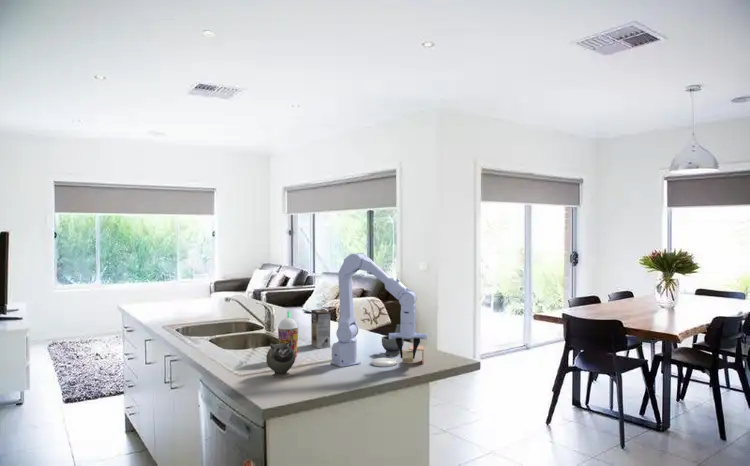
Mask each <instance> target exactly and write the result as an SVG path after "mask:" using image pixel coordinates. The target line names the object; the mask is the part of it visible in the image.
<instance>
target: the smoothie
mask: <svg viewBox="0 0 750 466" xmlns="http://www.w3.org/2000/svg"><path fill="white" fill-rule="evenodd" d="M286 313H287V314H286V315H287V317H285V318H284V319H282V320H281V321H280V322H279V324H278V326H277V332H278V337H277V338H278V344H287V343H288V342H291V346H290V347H291V348H292V349H293V351H294V354H295V359H296V358H297V356H298V355H297V354H298V343H299V342H298V337H299V325H298V323H297V321H296V320H295V319H294V318H291V317H290V311H288V310H287V312H286Z"/></svg>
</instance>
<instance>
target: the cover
mask: <svg viewBox="0 0 750 466" xmlns="http://www.w3.org/2000/svg"><path fill="white" fill-rule="evenodd" d="M408 350H413V345H408ZM417 351H418V352H419V351H421V364H422V365H424V363H425V362H424V361H425V360H424V356H425V355H424V353H425V352H424V346H423V345H418V347H417V350H416V352H417ZM408 365H411V363H408Z"/></svg>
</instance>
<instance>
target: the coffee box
mask: <svg viewBox="0 0 750 466" xmlns="http://www.w3.org/2000/svg"><path fill="white" fill-rule="evenodd" d="M310 311H311V313H310V315H311V316H310V317H311V319H310V320H311V327H310V328H311V331H310V332H311V345H312V346H313V347H315V348H316V349H324V348H323V347H328V348H331V311H328V310H327V309H311V310H310Z"/></svg>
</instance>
